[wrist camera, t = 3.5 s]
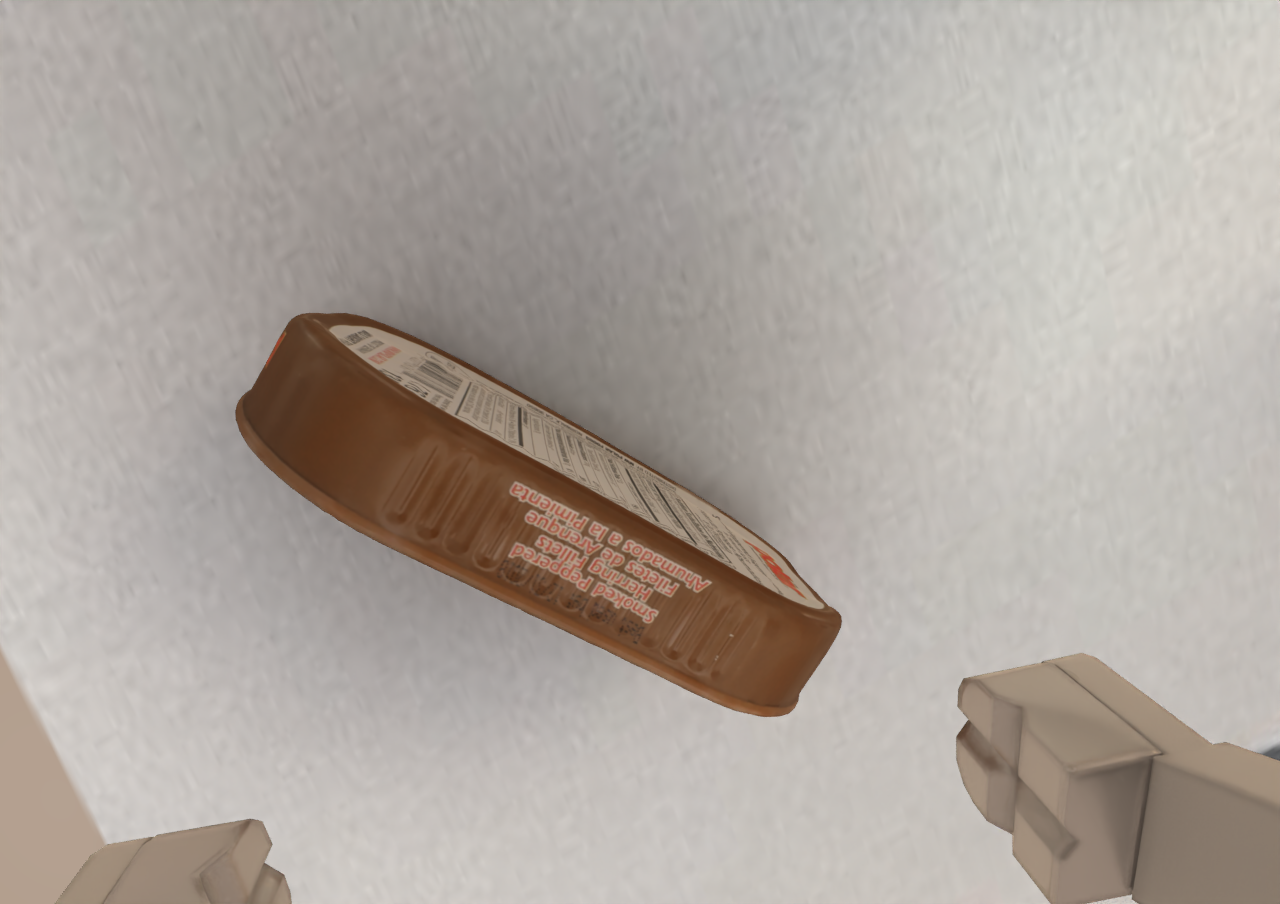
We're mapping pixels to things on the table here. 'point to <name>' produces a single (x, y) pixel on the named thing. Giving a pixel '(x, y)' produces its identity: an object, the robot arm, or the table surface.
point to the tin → (532, 511)
